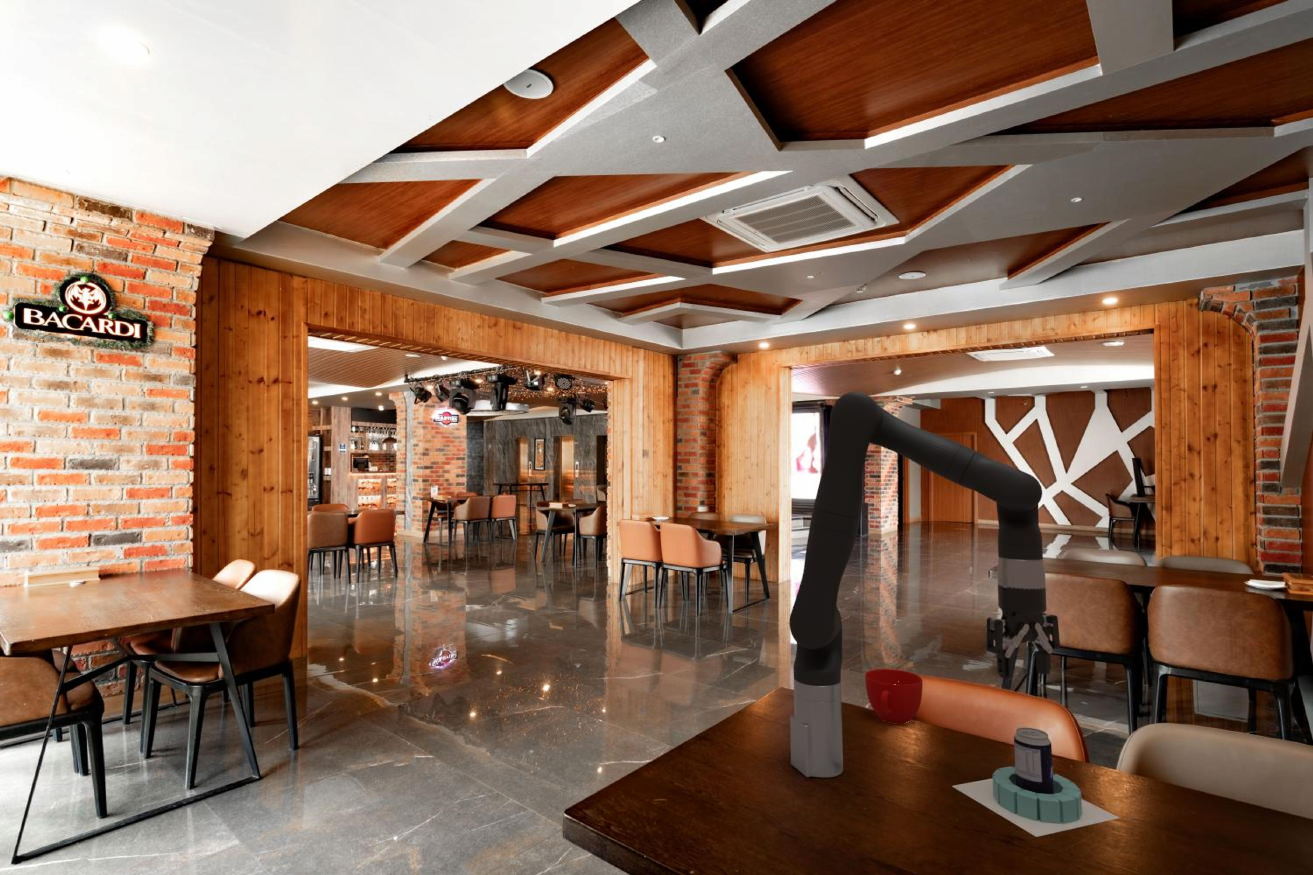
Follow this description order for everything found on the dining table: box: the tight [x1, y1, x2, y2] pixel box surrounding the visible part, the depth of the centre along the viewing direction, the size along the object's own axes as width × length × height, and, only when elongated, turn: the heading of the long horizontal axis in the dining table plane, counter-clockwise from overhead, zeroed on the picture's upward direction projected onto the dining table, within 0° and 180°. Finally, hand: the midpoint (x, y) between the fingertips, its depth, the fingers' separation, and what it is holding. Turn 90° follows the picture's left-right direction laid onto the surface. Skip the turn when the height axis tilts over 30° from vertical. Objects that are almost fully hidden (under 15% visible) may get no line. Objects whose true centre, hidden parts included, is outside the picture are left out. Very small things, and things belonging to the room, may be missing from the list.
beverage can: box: [1013, 727, 1054, 794], centre depth 113 cm, size 6×6×12 cm
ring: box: [992, 765, 1082, 824], centre depth 112 cm, size 13×13×4 cm
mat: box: [951, 777, 1120, 838], centre depth 113 cm, size 18×18×1 cm
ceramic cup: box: [864, 668, 924, 725], centre depth 153 cm, size 13×17×10 cm
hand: (1024, 675), depth 115 cm, fingers open, 8 cm apart
